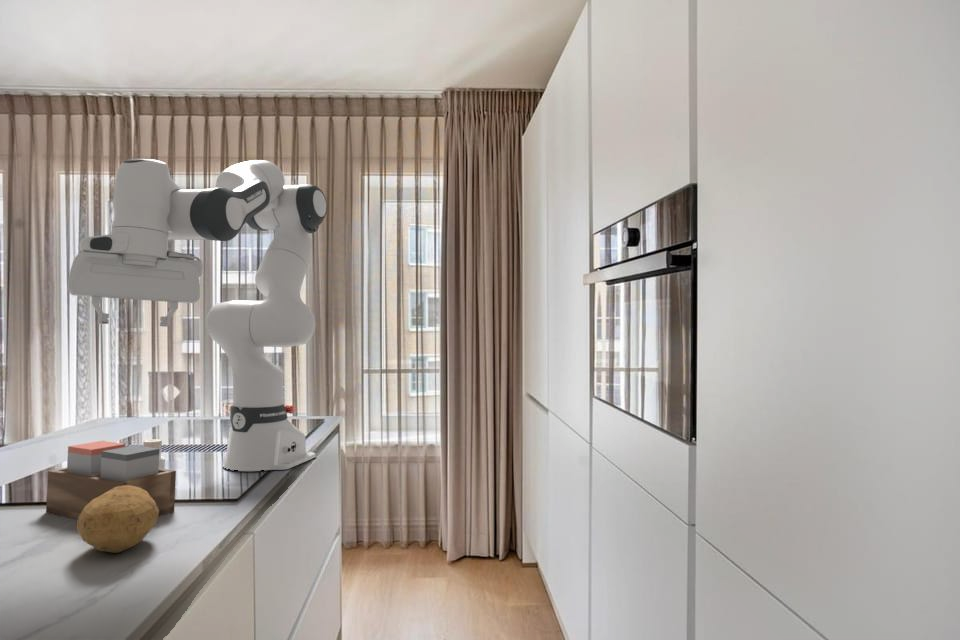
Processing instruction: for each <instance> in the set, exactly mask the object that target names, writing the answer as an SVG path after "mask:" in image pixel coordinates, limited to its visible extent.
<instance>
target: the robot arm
mask: <svg viewBox="0 0 960 640" xmlns="http://www.w3.org/2000/svg"><path fill="white" fill-rule="evenodd" d="M170 173H171V172H170V169H169V164H167V163H166V162H164V161H162V160H157V159H150V158H147V159H146V158H130V159H125V160H124V161H122V162H121V163H120V164H119V166H118V169H117V172H116V176H115V181H114V188H113V200H112V205H113V208H114V219H113V221H112V223H111V229H110V231H111V232H110V233H109V234H103V235H102V234H101V235H94V236H88V237H84V238H82V239H81V240H80V241H79V247H78V249H79V251H80V252H79V253H78V254H76V256H75V257H74V259H73V261H72V264H71V267H70V271H69V275H68V281H67V288H66V290H67V292H68V293H69V294H70V295H71V296H76V297H77V296H78V297H91V304H92V306H93V308H94V309H95V311H96V313H97V314H98V317H97V324H99V325H100V324H102V325H109V322H110V321H109V318H110V314H109V313H104V311H103V310H102V308H101V306H100V304H102V302H103V298H105V299H107V298H109V299H123V300H124V299H125V300H136V301H137V300H139V301H140V300H141V301H153V302H166V303H167V308H168V309H170V310H169V311H168V312H167V313H166V315H165V316H160V317H159V321H160V322H159V327H164V328H165V327H167V328H168V327H171V320H172V319H171V318H172V317H173V315H174V314H175V313H176V312H177V310H178V308H179V303H180V304H181V303H183V304H195V303H197V302H198V301H199V300H200V298H201V284H200V283H201V282H200V277H201V276H202V273H203V262H202V260H201V259H200V258H199V257H198V256H195V254H192V253H184V252H183V253H182V252H177V251H169V250H168V249H169V240H171V241H178V240H179V241H184V240H185V241H215V242H229V241H231V240H232V239H233V240H234V238H235V237H237V235H238V234H239V233H240V231H241V230H242V228H243V227H244V226H245V224H247V225H248V227H250V228H251V229H252V230H256V231H265V232H266V231H274V238H273V239H272V241H271V242H270V244H269V245H268V247H267V249H266V251H265V253H264V254H263V257H262V259H261V262H260V264H259V266H258V269H257V271H256V273H255V276H254V281H255V286H256V288H257V290H258V291H259V292H260V293H261V294H262V295H263V296H264V297H266V298H264V299H262V300H261V299H260V300H255V299H254V300H248V299H246V300H245V299H243V300H241V299H234V300H229V301H228V300H227V301H222V302H219V303H218V302H217V303H215V304H214V305H212V307H211V308H210V309H209V311H208V312H207V315H206V318H205V319H206V320H205V326H206V327H205V328H206V330H207V331H206V332H207V333H208V335H209V337H210V338H211V339H212V340H213V341H214V342H215V343H216V344H218V346H219V347H220V348H221V349H222V350H223V352H224V354H225V355H226V357H227V359H228V361H229V364H230V368H231V372H232V388H233V390H232V405H231V406H230V411H229V414H230V415H229V421H230V423H231V426H230V428H229V434H228V440H227V447H226V453H225V456H224V457H223V464H222V468H223V467H224V469H225V468H226V470H228V469H230V470H229V471H234V470H238V471H237V472H262V471H261V470H264V471H273V470H274V471H276V470H277V471H279V470H280V471H281V470H289V469H291V468H293V467H296V466H298V465H300V464H303V463H305V462H308V461H310V460H313V459H314V458H316V453H315V452H313V451H311V450H307V444H306V443H307V442H306V435H305V433H303V432H302V430H300V429H299V428H298V427H296V425H295V424H294V423H292V422H291V421H289V419H288V418H289V417H288V414H294V413H295V412H296V407H295V405H293V404H291V405H289V404H286V405H285V404H283V403H284V374H283V371H282V369H280V368H279V366H277V365H276V364H274V363H272V362H271V361H269V360H268V358H267V357H266V355H265V351H264V348H265V347H266V348H269V347H271V348H289V347H290V348H292V347H296V346H301V345H305V344H307V343H308V342H309V341H311V339H312V337H313V335H314V334H315V331H316V318H315V314H314V313H313V311H312V309H311V308H310V307H309V305H307V304H305V303H304V301H303V299H302V298H301V289H302V286H303V283H304V278H305V277H306V274H307V271H308V269H309V265H310V261H311V255H312V250H313V249H312V247H313V242H312V239H311V237H310V234H314V233H315V232H317V231H318V229H319V227H320V226H321V224H322V223H323V221H324V220H325V218H326V215H327V210H328V203H327V198H326V196H325V194H324V192H323V190H322V189H321V188H320V187H319V186H317V185H315V184H309V183H308V184H307V183H301V184H289V185H288V184H287V185H285V184H286V181H285V180H286V179H285V176H284V173H283V172H282V169H281V168H280V167H279V166H278V165H276V164H275V163H273V162H272V161H269V160H265V159H264V160H263V159H259V160H258V159H254V160H248V161H247V160H246V161H243V162H239V163H236V164H233V165H231V166H229V167H227V168H225V169H224V170H222V171H221V172H220V173H219V174H218V175H217V178H216V182H215V187H210V188H203V189H201V188H199V189H198V188H194V189H189V188H188V189H182V188H181V187H180V186H179V185H178V184H176V183H175V181H174V180H173V178H172V176H171V175H170Z"/></svg>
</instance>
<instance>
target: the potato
mask: <svg viewBox="0 0 960 640" xmlns="http://www.w3.org/2000/svg"><path fill="white" fill-rule="evenodd" d="M158 514H159V509H158V507H157V505H156V503H155V501H154V500H153V499H152V497H151V496H150V495H149V494H148V492H147V491H145V490H144V489H142V488H140V487H135V486H131V485H124V486H118V487H114V488H113V489H111V490H109V491H107V492H106V493H104V494H102V495H101V496H99V497H97V498H95V499H93V500H92V501H91V502H90V503H89V504H87V505H86V506H85V508H84V509H83V511H82V512H81V514H80V516H79V517H78V519H77V523H76V528H77V529H76V530H77V531H78V533H79V535H80V538H81V540H82V541H83V542H85V543H86V544H88V545H89V546H91V547H92V548H95V549H96V550H98V551H101V552H108V553H112V554H119V553H121V552H123V551H125V550H129V549H130V548H132V547H134V546H135V545H138V544H139V543H140V542H142V540H143V539H144V538H145V537H146V536H147V535H148V534H149V532H150V531H151V530H152V528H154V526H156V524H157V522H158V517H159V516H158Z"/></svg>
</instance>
